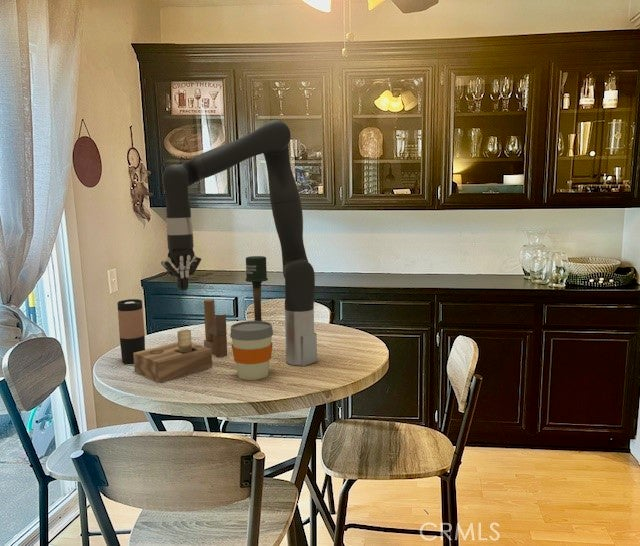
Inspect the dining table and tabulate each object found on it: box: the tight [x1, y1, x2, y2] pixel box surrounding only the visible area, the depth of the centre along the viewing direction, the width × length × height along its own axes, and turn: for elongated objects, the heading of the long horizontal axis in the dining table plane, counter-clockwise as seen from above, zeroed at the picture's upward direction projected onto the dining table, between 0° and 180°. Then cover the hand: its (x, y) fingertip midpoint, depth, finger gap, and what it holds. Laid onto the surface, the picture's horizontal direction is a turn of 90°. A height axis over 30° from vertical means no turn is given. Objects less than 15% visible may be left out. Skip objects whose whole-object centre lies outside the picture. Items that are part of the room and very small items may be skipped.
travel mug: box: [116, 298, 146, 365], centre depth 166 cm, size 8×8×20 cm
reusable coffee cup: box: [229, 320, 274, 381], centre depth 152 cm, size 13×13×15 cm
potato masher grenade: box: [245, 255, 269, 321], centre depth 198 cm, size 8×9×30 cm
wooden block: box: [203, 298, 228, 358], centre depth 174 cm, size 4×11×18 cm, turn 38°
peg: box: [177, 329, 192, 354], centre depth 158 cm, size 4×4×12 cm
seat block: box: [133, 341, 213, 384], centre depth 158 cm, size 15×18×6 cm
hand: (183, 289), depth 156 cm, fingers closed
